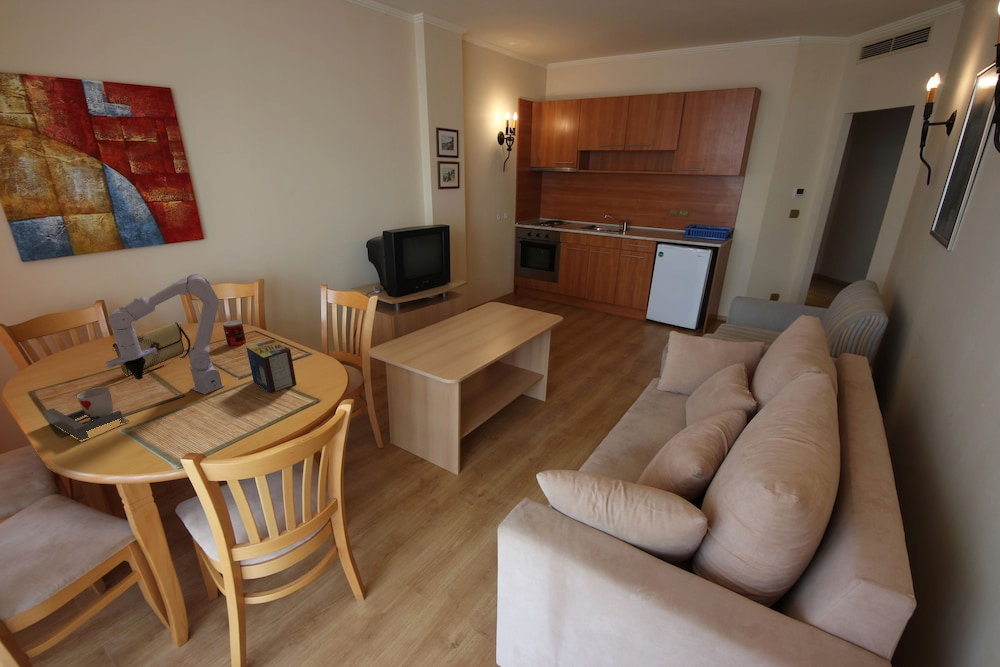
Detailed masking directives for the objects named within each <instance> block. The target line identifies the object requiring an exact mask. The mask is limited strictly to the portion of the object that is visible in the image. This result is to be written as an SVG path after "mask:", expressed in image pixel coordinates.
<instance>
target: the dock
mask: <svg viewBox="0 0 1000 667" xmlns="http://www.w3.org/2000/svg"><path fill="white" fill-rule="evenodd" d="M44 412H45V415H46V417H47V420H48V421H50V422H51V423H53V424H54V425H56V426H58V427H60V428H61V429H63V430H64V431H66V432H68V433H69V434H71V435H73V436H74V437H76V438H78V439H79V440H83V439H86V438H89V437H88V434H87V432H86V431H89V430H91V429H94V428H96V427H99V426H102V425H104V424H107V423H110V422H112V421H115V420H117V419H120V418H121V419H120V420H121V422H120V424H121V423H126V422H129V421H130V420H128V419H127V418H125V417H123V414H122V412H121V410H117V411H114V412H113V413H111V414H108V415H106V416H103V417H101V418H98V419H95V420H93V421H92V420H90V421H88V422H86V423H83V424H82V423H80V422H78V421H75V419H77V418H80V417H82V416H84V415H87V414H86V413H85V411H84V410H83V409H79V410H77V411H73V412H71V413H68V414H64V413H63V412H60V411H58V410H57V409H55V408H54V407H52V408H50V409H46V410H45V411H44ZM120 420H119V421H120ZM50 422H49V423H50ZM110 426H111V425H110Z"/></svg>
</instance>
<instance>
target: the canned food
mask: <svg viewBox="0 0 1000 667" xmlns="http://www.w3.org/2000/svg"><path fill="white" fill-rule="evenodd" d="M243 325H244V324H243V322H242V320H237V319H235V320H228V321H225V322H224V323H222V327H223V330H224V336H225V339H226V344H227V345H228V347H231V346H236V347H241V346H243V344H244V345H245V344H246V342H247V340H246V335H245V334H246V333H245V330H244V326H243ZM240 345H241V346H240Z"/></svg>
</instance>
